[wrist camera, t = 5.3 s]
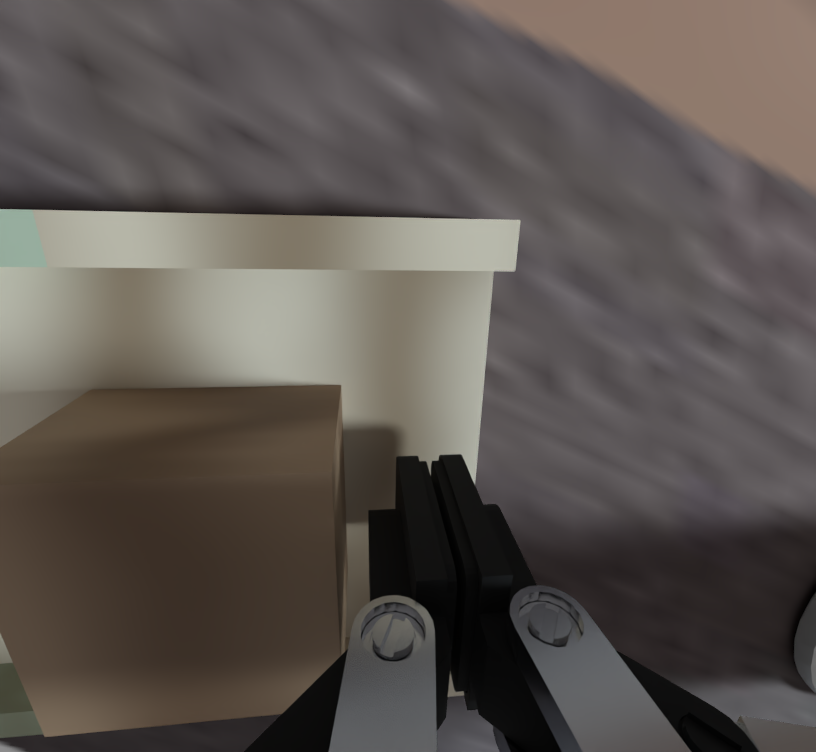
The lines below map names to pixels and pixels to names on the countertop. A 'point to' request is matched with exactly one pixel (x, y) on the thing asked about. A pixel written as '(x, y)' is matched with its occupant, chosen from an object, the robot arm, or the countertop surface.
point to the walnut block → (174, 554)
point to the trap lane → (256, 333)
